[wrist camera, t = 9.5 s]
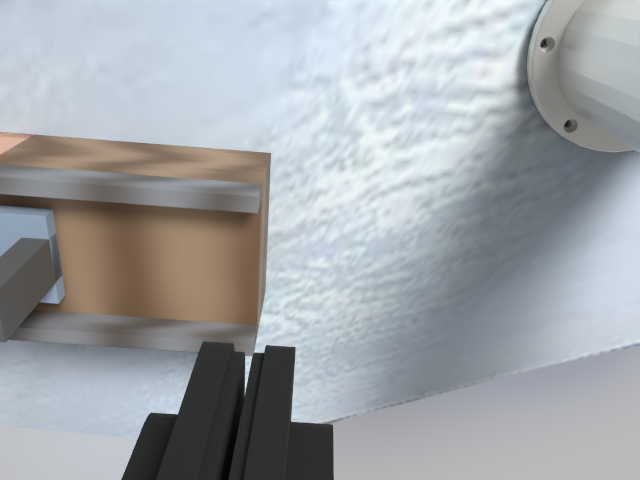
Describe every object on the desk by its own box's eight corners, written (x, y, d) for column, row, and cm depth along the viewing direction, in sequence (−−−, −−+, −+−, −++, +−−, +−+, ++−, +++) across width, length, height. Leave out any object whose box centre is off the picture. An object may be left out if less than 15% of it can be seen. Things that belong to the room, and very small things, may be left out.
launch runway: (270, 153, 38) (258, 196, 31) (265, 291, 43) (253, 356, 36) (33, 134, 38) (-35, 174, 31) (55, 275, 43) (0, 338, 36)
